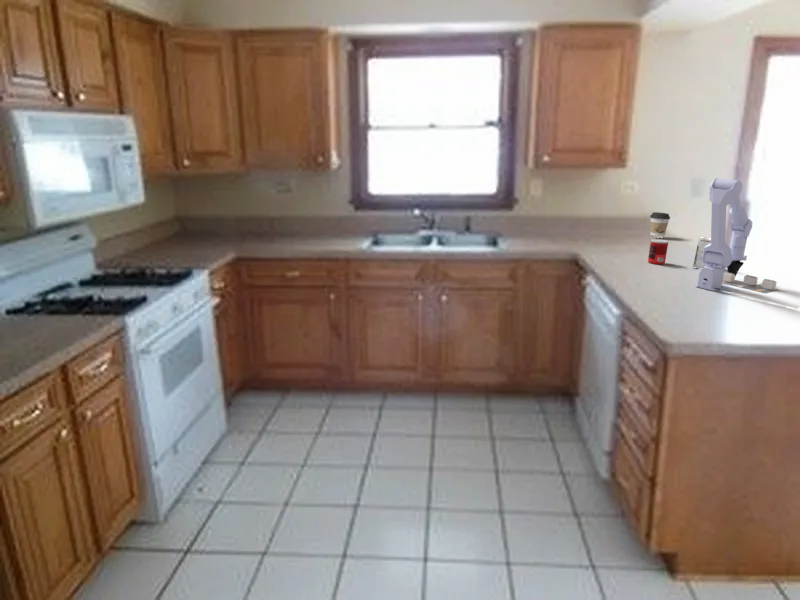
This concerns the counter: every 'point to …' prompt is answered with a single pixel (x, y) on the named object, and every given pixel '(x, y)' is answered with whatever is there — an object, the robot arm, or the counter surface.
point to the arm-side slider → (728, 277)
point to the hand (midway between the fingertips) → (731, 278)
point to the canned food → (657, 251)
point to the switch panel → (749, 286)
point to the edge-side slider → (768, 284)
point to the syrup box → (700, 251)
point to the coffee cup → (659, 223)
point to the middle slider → (750, 280)
